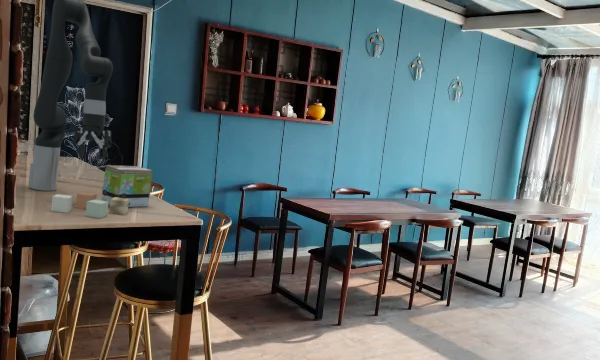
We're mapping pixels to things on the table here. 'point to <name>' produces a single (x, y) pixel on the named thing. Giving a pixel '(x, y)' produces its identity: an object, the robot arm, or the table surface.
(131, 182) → the tea box
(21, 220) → the table surface
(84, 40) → the robot arm
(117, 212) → the maple cube
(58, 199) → the cream cube
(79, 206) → the terracotta cube
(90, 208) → the sage cube
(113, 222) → the table surface
